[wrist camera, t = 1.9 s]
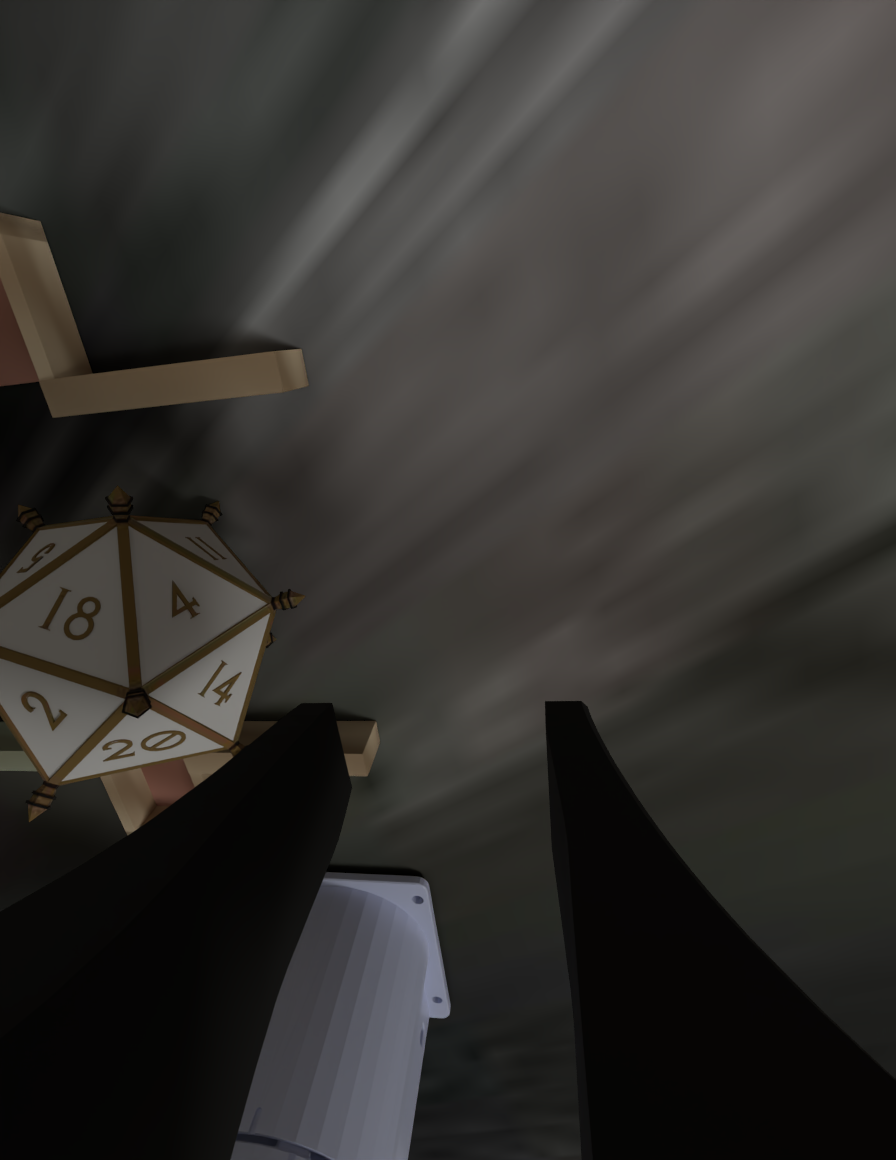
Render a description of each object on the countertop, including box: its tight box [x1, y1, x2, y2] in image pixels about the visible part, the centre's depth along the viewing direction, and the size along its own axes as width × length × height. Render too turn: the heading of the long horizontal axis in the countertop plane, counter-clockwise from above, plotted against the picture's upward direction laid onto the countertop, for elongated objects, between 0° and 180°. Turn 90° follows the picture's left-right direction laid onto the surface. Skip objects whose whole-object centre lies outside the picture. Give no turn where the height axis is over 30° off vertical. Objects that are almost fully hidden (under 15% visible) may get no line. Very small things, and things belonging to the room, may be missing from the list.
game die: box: [0, 485, 305, 822], centre depth 16 cm, size 9×8×10 cm
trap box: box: [0, 213, 380, 835], centre depth 19 cm, size 22×22×3 cm
